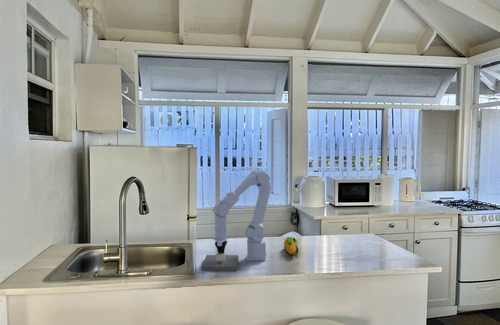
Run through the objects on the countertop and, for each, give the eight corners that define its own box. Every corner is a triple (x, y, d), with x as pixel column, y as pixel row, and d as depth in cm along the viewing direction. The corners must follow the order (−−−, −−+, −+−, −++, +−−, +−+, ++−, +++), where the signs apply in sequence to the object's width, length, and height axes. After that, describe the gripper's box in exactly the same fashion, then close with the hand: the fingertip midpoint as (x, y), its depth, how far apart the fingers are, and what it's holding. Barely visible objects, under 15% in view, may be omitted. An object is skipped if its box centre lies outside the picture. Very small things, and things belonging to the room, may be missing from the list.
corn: (296, 233, 187) (300, 244, 167) (296, 247, 187) (301, 259, 167) (282, 234, 187) (285, 245, 167) (283, 248, 188) (286, 260, 168)
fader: (225, 259, 160) (225, 253, 160) (224, 261, 158) (224, 254, 158) (216, 259, 160) (216, 253, 160) (216, 261, 158) (216, 254, 158)
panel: (238, 259, 168) (238, 254, 168) (236, 270, 152) (236, 266, 152) (206, 259, 168) (206, 254, 168) (201, 270, 152) (201, 266, 152)
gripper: (214, 225, 168) (214, 251, 169) (210, 232, 154) (210, 261, 154) (228, 225, 168) (228, 251, 169) (226, 232, 154) (226, 261, 154)
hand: (221, 256), depth 161 cm, fingers closed
